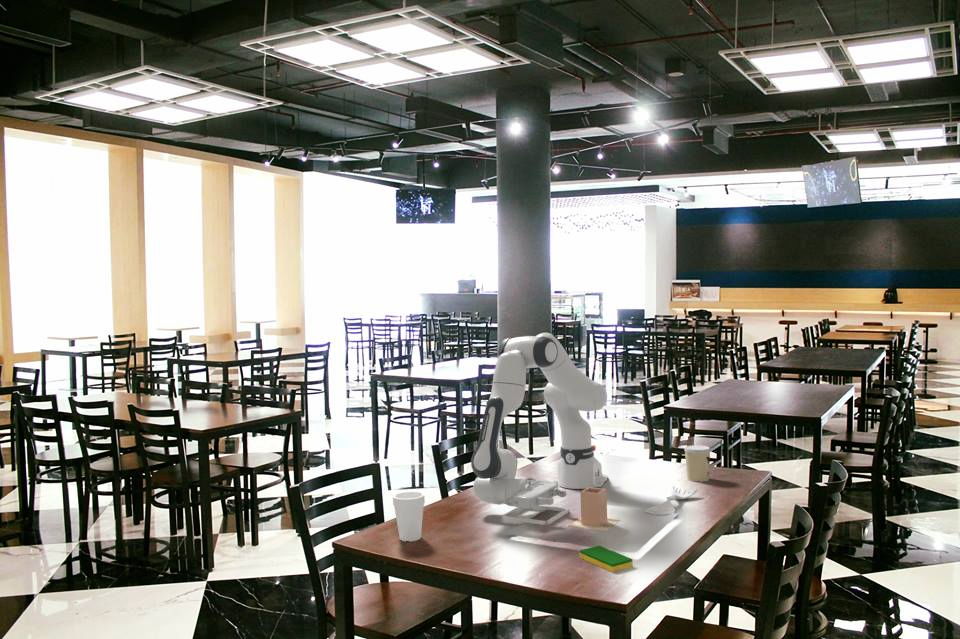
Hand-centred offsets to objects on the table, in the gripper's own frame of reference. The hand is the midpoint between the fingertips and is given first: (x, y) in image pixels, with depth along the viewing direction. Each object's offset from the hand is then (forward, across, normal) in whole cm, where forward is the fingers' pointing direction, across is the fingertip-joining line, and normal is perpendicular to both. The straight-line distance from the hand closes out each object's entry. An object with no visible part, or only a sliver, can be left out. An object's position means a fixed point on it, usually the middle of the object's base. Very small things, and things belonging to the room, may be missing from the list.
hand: (559, 497), depth 242 cm
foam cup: (-34, -32, +8) cm, 48 cm away
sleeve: (+12, 0, +6) cm, 13 cm away
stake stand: (+12, 0, +8) cm, 14 cm away
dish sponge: (+26, -26, +9) cm, 38 cm away
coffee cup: (+24, +71, +8) cm, 75 cm away
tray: (-8, 0, +8) cm, 12 cm away
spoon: (+26, +31, +9) cm, 41 cm away
